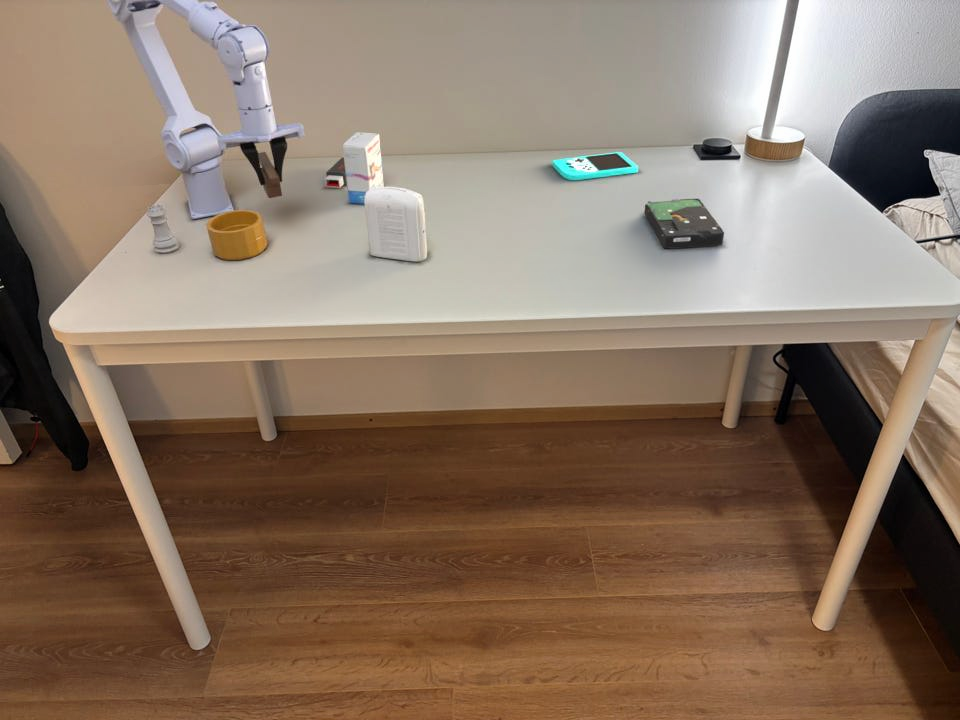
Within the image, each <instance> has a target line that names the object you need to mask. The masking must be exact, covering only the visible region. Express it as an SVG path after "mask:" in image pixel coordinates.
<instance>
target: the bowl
mask: <svg viewBox="0 0 960 720" xmlns="http://www.w3.org/2000/svg"><path fill="white" fill-rule="evenodd" d="M205 226H206V230H207V233H208V239H209V242H210V245H211V248H212V252H213V255H215V256H216V257H218V258H220V259H221V260H225V261H242V260H247V259H251V258H253V257H256V256H257V255H259V254H261V253H263V252H264V251H265V249H266V247H267V245H268V242H269V241H268V239H267V234H266V230H265V223H264V219H263V217H262V214H261V213H259V212H257V211H255V210H250V209H234V211H228V212H224V213H221V214H219V215H214V216H212V217H211V218H209V219H208V220H207V222H206V224H205Z"/></svg>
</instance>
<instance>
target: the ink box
mask: <svg viewBox="0 0 960 720" xmlns="http://www.w3.org/2000/svg"><path fill="white" fill-rule="evenodd" d="M342 155H343V158H344V164H345V172H346V179H347V185H346V186H347V194H348V203H349V204H358V205H359V204H360V205H365V204H364V201H365V194H366V192H367V191H369V189H372V188H376V187H385V185H384V174H383V162H382V151H381V142H380V134H379V133H372V132H371V133H370V132H362V131H358V132H357V131H356V132H355V133H353V134H352V135H351V136H350V137H349V138H348V139H347V140H346V141H345V142H343V144H342Z"/></svg>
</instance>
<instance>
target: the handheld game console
mask: <svg viewBox="0 0 960 720" xmlns="http://www.w3.org/2000/svg"><path fill="white" fill-rule="evenodd" d="M551 165H552V167H553V168H554V169H555V170H556V172H558V174H559V175H560V176H561V177H562V178H564V179H566V180H569V181H581V180H589V179H598V178H604V177H606V178H607V177H613V176H620V175H621V176H622V175H629V174H635V173H636V174H637V173H638V172H639V166H638V165H637V164H636V163H634V162H633V161H632V160H631V159H630V158H629V157H627V156H626V154H624V153H623V152H621V151H617V152H616V151H615V152H609V153H601V154H592V155H584V156H576V157H575V156H574V157H567V158H560V159H553V160H552V164H551Z"/></svg>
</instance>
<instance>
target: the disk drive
mask: <svg viewBox="0 0 960 720" xmlns="http://www.w3.org/2000/svg"><path fill="white" fill-rule="evenodd" d="M644 215H645V217H646V219H647V221H648V222H649V224H650V226H651V228H652V230H653V231H654V233H655V234H656V236H657V238H658V240H659V242H660V243H661V245H662V246H663V248H664V249H667V248H668V249H680V248H681V249H682V248H697V247H699V248H700V247H715V246H722V245H723V243H724V237H725V232H724V230H723V228H722V227H721V226H720V225H719V223H718V222H717V221H716V219H715V217H713V215H712V214H711V213H710V212H709V209H708V208H707V207H706V206H705V204H704V203H703V202H702V201H701V199H700V198H683V199H678V198H675V199H671V200H664V201H663V200H662V201H651V200H648V201H647V203H646V204H645V205H644Z"/></svg>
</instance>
